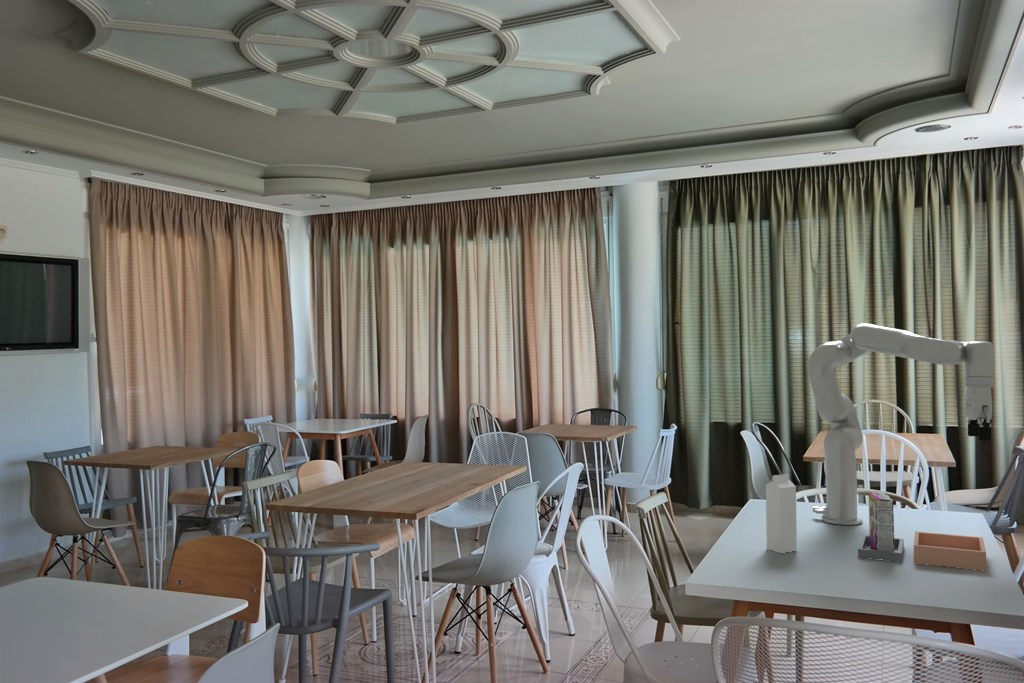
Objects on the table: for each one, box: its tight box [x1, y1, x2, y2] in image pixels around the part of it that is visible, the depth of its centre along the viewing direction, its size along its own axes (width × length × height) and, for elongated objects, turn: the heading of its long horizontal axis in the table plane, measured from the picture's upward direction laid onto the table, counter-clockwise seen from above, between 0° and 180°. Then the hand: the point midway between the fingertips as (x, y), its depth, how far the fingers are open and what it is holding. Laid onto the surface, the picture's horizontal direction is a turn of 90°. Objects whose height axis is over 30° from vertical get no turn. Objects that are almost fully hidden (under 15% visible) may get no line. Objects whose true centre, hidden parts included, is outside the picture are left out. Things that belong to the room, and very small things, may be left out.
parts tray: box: [857, 534, 905, 563], centre depth 231 cm, size 11×17×2 cm, turn 152°
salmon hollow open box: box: [913, 531, 987, 572], centre depth 223 cm, size 17×17×5 cm
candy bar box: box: [868, 491, 895, 552], centre depth 231 cm, size 11×5×16 cm, turn 166°
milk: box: [765, 473, 798, 554], centre depth 235 cm, size 6×6×22 cm
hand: (979, 438), depth 245 cm, fingers open, 9 cm apart
